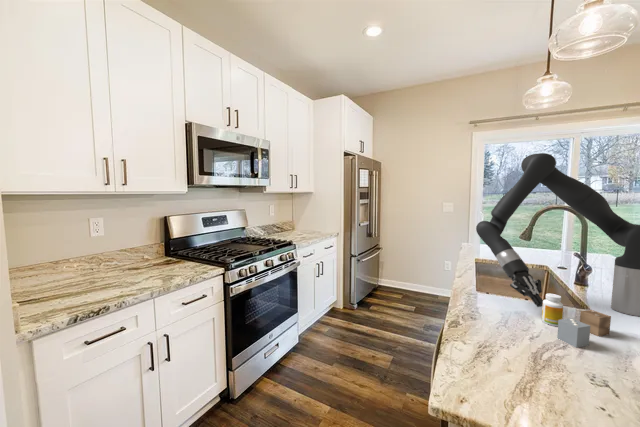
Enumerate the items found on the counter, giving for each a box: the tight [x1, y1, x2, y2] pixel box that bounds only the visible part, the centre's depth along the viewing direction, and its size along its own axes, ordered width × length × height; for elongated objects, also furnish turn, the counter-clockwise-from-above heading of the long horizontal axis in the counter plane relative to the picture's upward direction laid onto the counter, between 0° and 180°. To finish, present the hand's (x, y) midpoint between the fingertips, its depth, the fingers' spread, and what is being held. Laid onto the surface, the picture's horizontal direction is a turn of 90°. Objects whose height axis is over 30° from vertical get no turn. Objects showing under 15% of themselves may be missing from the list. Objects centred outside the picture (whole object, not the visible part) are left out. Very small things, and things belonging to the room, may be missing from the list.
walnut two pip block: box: [579, 309, 612, 337], centre depth 86 cm, size 5×5×6 cm
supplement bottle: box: [541, 292, 564, 327], centre depth 92 cm, size 5×5×10 cm
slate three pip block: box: [556, 317, 591, 349], centre depth 80 cm, size 5×5×6 cm
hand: (541, 305), depth 95 cm, fingers closed
